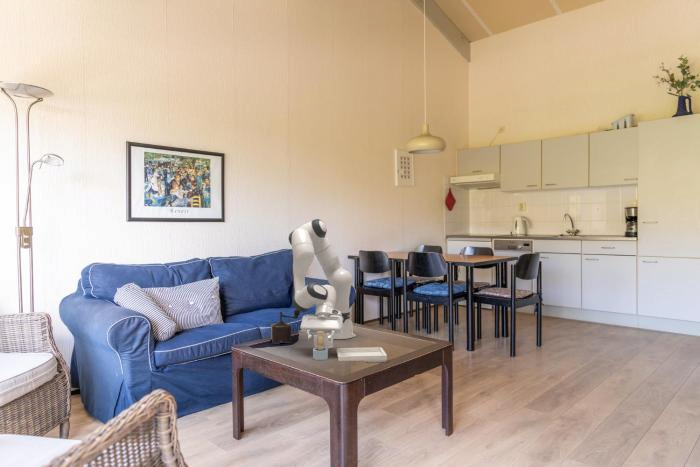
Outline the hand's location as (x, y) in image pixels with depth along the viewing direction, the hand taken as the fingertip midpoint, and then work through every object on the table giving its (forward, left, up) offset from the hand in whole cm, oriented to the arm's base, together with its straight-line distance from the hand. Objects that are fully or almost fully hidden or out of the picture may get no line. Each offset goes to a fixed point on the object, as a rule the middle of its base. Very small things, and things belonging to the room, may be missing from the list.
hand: (319, 339), depth 212 cm
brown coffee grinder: (-39, -18, -10) cm, 44 cm away
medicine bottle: (-20, +2, -10) cm, 23 cm away
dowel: (+1, 0, -8) cm, 9 cm away
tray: (-1, +19, -9) cm, 22 cm away
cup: (+1, 0, -9) cm, 10 cm away
